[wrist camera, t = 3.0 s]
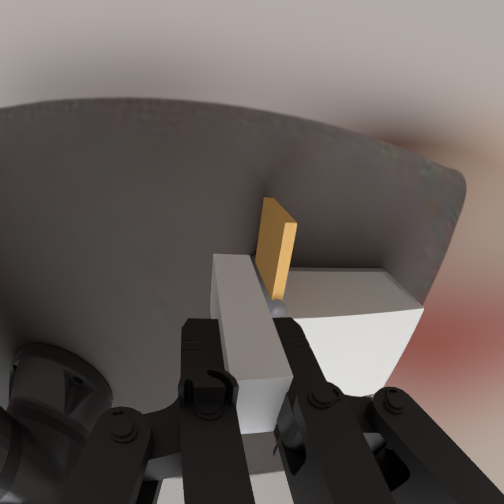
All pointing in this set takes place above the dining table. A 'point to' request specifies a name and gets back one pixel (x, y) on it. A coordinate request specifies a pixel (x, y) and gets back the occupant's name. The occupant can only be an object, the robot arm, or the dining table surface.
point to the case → (352, 322)
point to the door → (274, 254)
